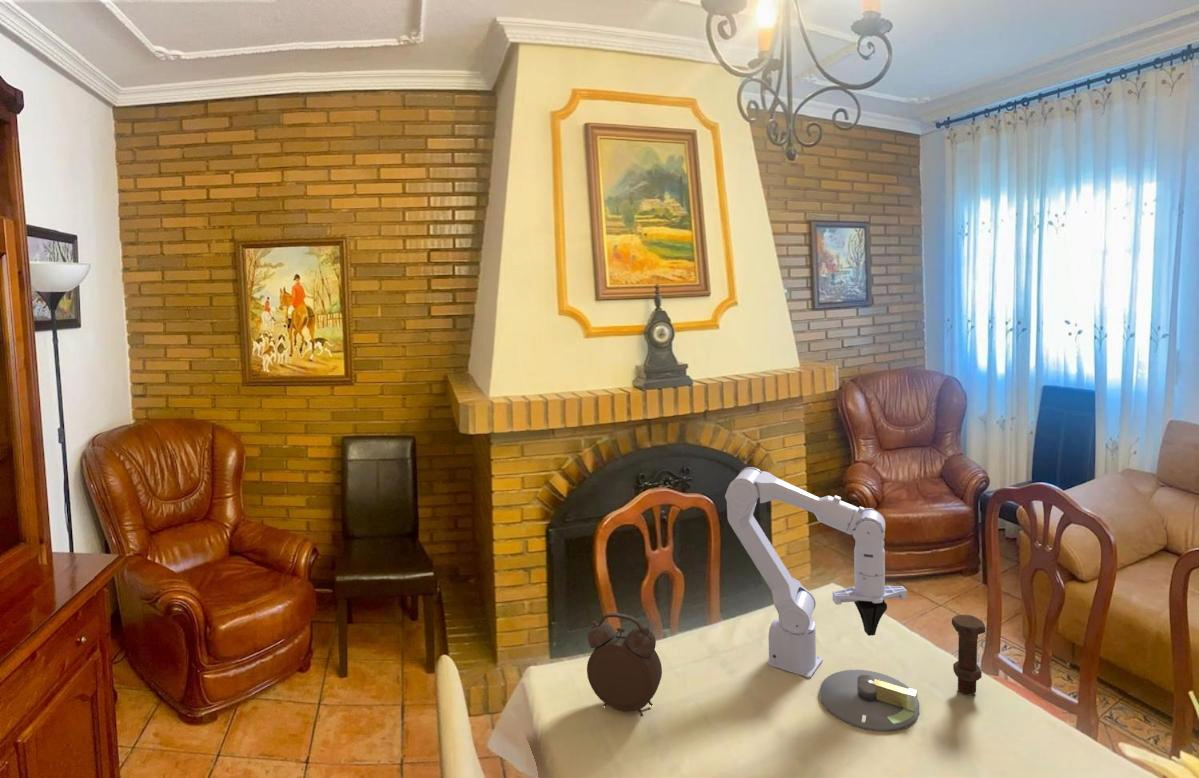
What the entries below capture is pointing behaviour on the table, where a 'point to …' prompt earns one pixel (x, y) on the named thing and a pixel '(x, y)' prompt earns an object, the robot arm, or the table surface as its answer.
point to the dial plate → (863, 703)
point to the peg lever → (886, 692)
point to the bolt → (967, 652)
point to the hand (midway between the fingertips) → (869, 633)
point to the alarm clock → (623, 665)
